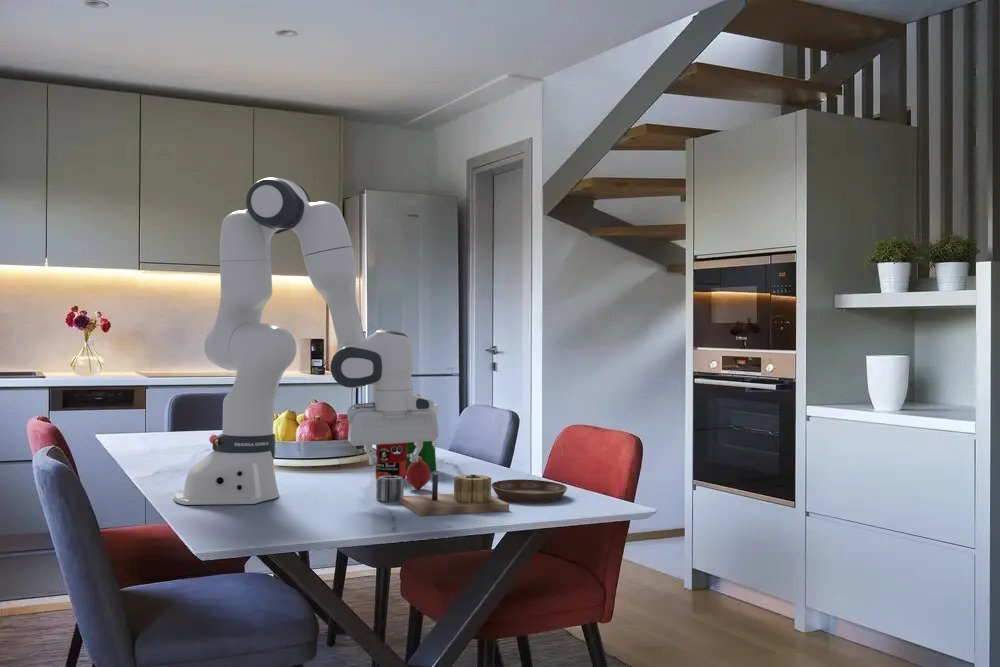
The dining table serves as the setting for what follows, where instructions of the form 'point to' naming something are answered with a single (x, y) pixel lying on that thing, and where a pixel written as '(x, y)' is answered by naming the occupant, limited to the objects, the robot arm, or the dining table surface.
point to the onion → (418, 473)
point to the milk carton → (425, 450)
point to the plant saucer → (529, 490)
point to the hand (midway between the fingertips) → (393, 463)
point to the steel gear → (389, 488)
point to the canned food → (391, 460)
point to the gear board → (457, 498)
